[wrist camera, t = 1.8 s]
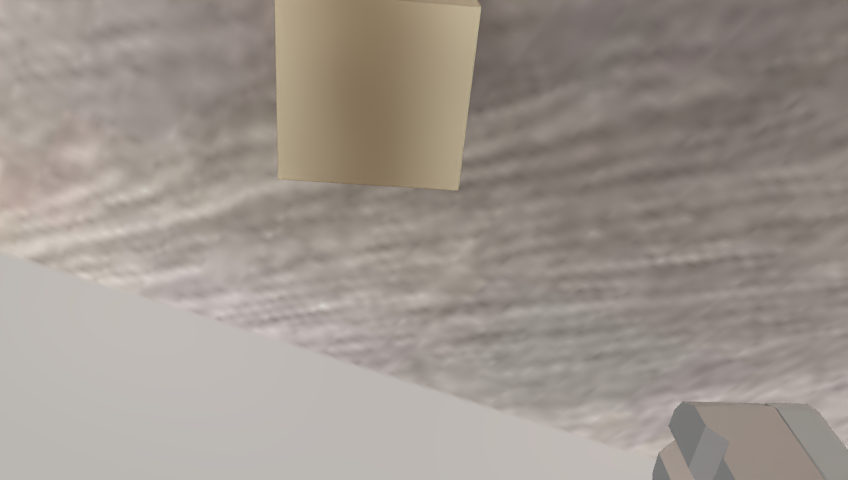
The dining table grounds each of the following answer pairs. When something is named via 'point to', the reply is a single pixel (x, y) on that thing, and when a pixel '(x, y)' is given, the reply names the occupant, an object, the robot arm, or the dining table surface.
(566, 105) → the dining table surface
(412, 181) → the maple block
